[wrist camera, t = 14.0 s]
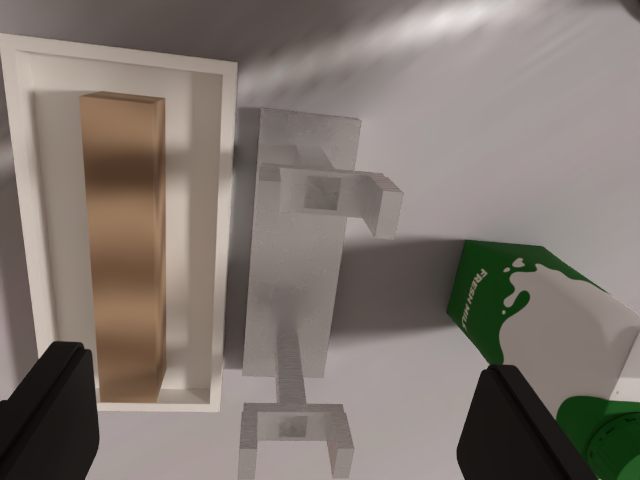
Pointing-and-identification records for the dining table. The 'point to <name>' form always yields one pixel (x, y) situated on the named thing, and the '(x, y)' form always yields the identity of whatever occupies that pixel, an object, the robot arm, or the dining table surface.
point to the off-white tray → (181, 198)
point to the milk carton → (558, 345)
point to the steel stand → (303, 272)
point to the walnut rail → (127, 240)
